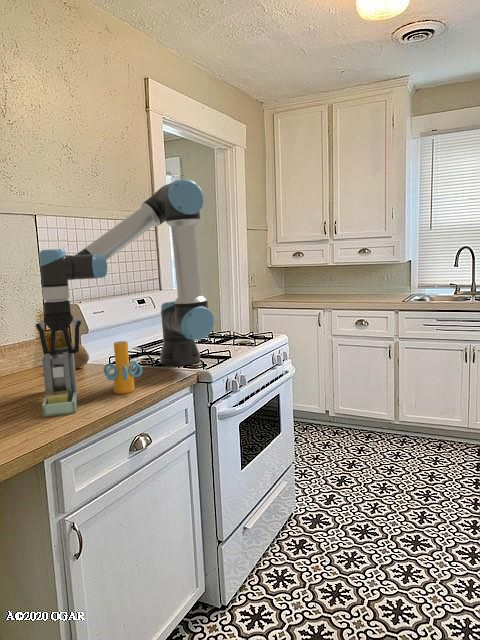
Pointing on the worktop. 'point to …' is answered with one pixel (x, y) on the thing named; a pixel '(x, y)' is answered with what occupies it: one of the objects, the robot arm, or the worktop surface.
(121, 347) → the cylinder
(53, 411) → the tray
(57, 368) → the shaft
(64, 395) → the block
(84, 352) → the natural sponge
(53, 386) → the housing
